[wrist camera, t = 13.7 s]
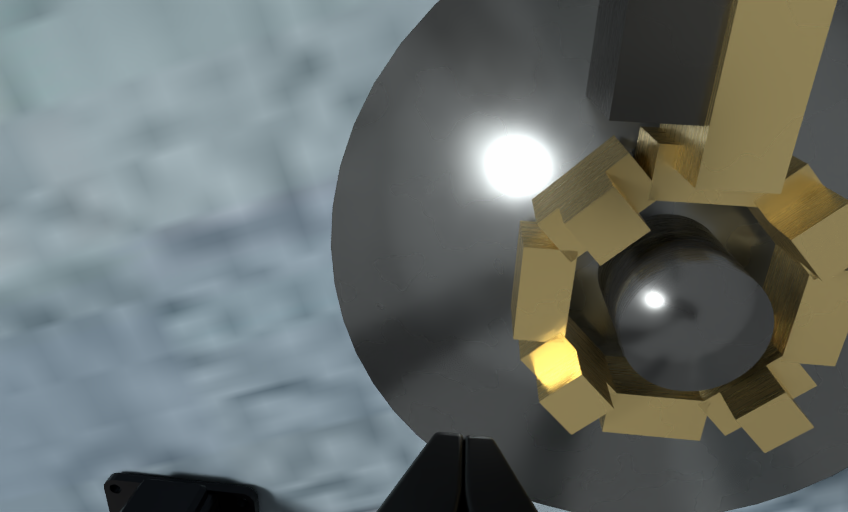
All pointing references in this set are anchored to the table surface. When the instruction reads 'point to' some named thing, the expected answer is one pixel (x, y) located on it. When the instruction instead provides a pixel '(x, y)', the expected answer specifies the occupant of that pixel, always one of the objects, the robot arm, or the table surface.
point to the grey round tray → (593, 284)
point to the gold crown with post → (707, 184)
